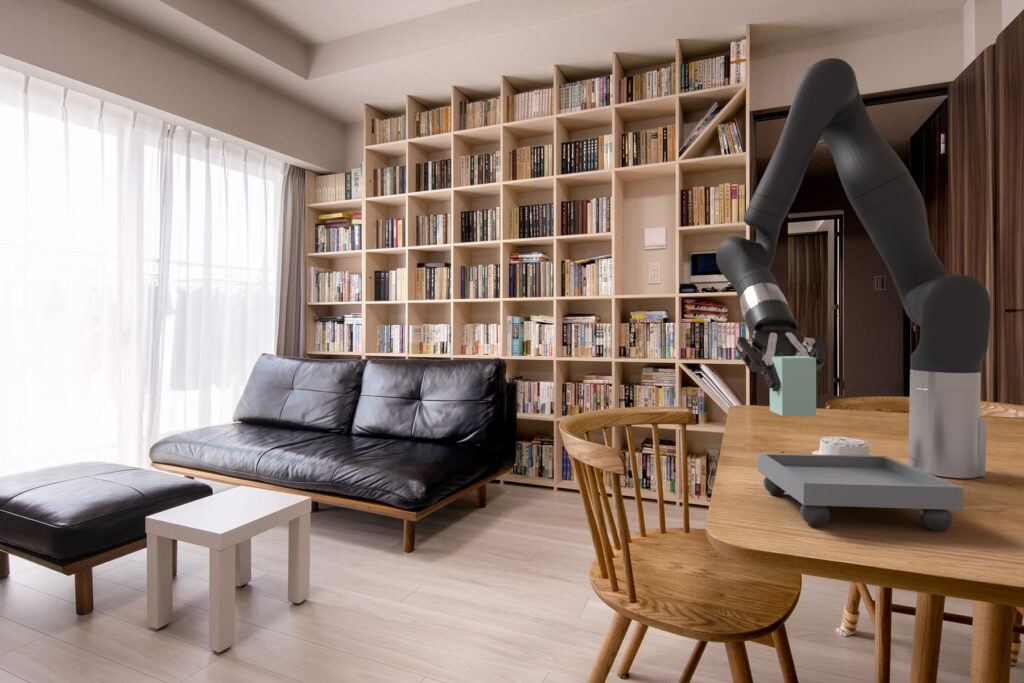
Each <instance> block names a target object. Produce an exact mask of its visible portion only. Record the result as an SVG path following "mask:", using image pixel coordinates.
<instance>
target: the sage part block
mask: <svg viewBox="0 0 1024 683" xmlns="http://www.w3.org/2000/svg"><path fill="white" fill-rule="evenodd" d="M772 360H773V364H772V366H775V368H776V371H777V374H778V376H779V379H780V382H781V386H780V388H779V390H778V391H773V390H772V388H769V411H770V412H772V413H774V414H777V415H779V416H782V417H785V416H786V417H789V416H790V417H791V416H792V417H797V416H798V417H806V416H808V417H811V416H812V417H817V389H816V358H814V357H811V356H810V357H806V356H774V357H772Z"/></svg>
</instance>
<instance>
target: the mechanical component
mask: <svg viewBox="0 0 1024 683" xmlns="http://www.w3.org/2000/svg"><path fill="white" fill-rule="evenodd" d="M869 444H870V443H869V442H868V441H866V440H865V441H864V440H863V439H859V438H854V437H853V438H852V437H847V436H846V437H845V436H826V437H825V436H822V437H821V438H819V450H818V449H817V450H814V451H812V452H811V454H821V455H868V456H870V447H869Z"/></svg>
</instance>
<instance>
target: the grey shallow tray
mask: <svg viewBox="0 0 1024 683" xmlns="http://www.w3.org/2000/svg"><path fill="white" fill-rule="evenodd" d="M757 471H758V473H760V474H761V475H763V476H764V480H763V486H764V489H765V490H766V491H767V492H769V493H770V494H771V495H773V496H782V495H783V494H785V493H786V494H789V495H790V496H791V497H792V498H793V499H794V500H796V501H798V502H799V503H800V504H801V506H800V508H799V514H800V517H801V518H802V520H803V521H804V522H805V523H806V524H808V525H809V526H812V527H814V528H821V527H823V526H826V525H827V524H828V522H829V520H830V517H831V514H830V511H829V510H830V509H829V508H828V506H829V507H850V508H851V507H854V508H855V507H856V508H857V507H858V508H883V509H884V508H887V509H915V510H916V509H919V512H918V518H919V521H920V523H921V524H922V525H924V526H925V527H927V528H928V529H930V530H932V531H935V532H943V531H946V530H948V529H949V528H950V526H951V525H952V522H953V515H952V512H950V510H952V511H954V510H955V511H963V510H964V508H963V507H964V487H963V486H961V485H958V484H955V483H953V482H950V481H948V480H945V479H943V478H941V477H940V476H939V477H938V476H936V475H931V474H929V473H926V472H924V471H921V470H919V469H916V468H914V467H911V466H909V465H908V464H907V463H904V462H902V461H899V460H897V459H894V458H891V457H889V456H886V455H869V456H868V455H821V454H812V453H808V454H806V453H771V452H770V453H769V452H768V453H765V452H764V453H762V452H758V454H757Z"/></svg>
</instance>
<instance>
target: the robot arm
mask: <svg viewBox="0 0 1024 683" xmlns="http://www.w3.org/2000/svg"><path fill="white" fill-rule="evenodd" d="M820 138H821V139H822V140H823V141H824V143H825V145H826V146H827V148H828V150H829V152H830V153H831V156H832V158H833V162H834V165H835V168H836V171H837V173H838V177H839V180H840V182H841V185H842V187H843V189H844V192H845V195H846V196H847V199H848V201H849V202H850V204H851V206H852V208H853V210H854V212H855V213H856V216H857V217H858V220H859V221H860V222H861V224H862V225H863V227H864V228H865V230H866V232H867V234H868V236H869V238H870V240H871V241H872V243H873V245H874V246H875V247H874V248H876V250H877V251H878V253H879V254H880V256H881V258H882V259H883V261H884V263H885V264H886V267H887V269H888V272H889V273H890V275H891V278H892V280H893V282H894V286H895V288H896V290H897V293H898V296H899V299H900V301H901V303H902V306H903V309H904V311H905V313H906V315H907V317H908V318H909V319H910V320H911V321H912V322H913V323H914V324H916V325H917V326H919V327H920V331H919V332H920V335H919V342H918V345H917V347H916V349H915V350H914V351H913V352H912V353H911V355H910V362H909V364H910V365H909V366H910V369H909V373H910V374H909V411H908V412H909V419H908V456H907V458H908V459H907V462H908V464H907V465H909V466H911V467H914V468H916V469H919V470H921V471H924V472H926V473H929V474H931V475H934V476H936V477H938V476H939V477H942V478H943V477H944V478H953V479H975V478H978V477H986V467H987V466H986V465H987V464H986V459H987V428H988V427H987V423H988V422H987V419H986V418H985V417H982V416H981V383H982V382H981V381H982V380H981V379H982V378H981V377H982V372H981V371H982V363H983V361H984V359H985V358H986V355H987V352H988V348H989V340H990V328H991V312H992V311H991V307H992V306H991V298H990V294H989V291H988V289H987V288H986V286H985V285H984V284H983V283H982V282H981V281H980V280H979V279H977V278H975V277H973V276H971V275H966V274H955V273H954V274H949V272H948V271H947V270H946V268H945V267H944V265H943V264H942V262H941V260H940V258H939V257H938V255H937V254H936V251H935V250H934V247H933V245H932V242H931V238H930V231H929V224H928V217H927V216H928V215H927V209H926V204H925V201H924V197H923V196H922V193H921V191H920V189H919V187H918V185H917V184H916V182H915V180H914V178H913V177H912V175H911V173H910V171H909V170H908V168H907V166H906V165H905V164H904V162H903V161H902V160H901V158H900V156H899V155H898V154H897V152H896V151H895V150H894V149H893V147H892V146H891V145H890V144H889V143H888V141H886V140H885V139H884V138H883V136H882V135H881V134H880V133H879V131H878V130H877V129H876V127H875V125H874V124H873V121H872V120H871V118H870V116H869V113H868V111H867V108H866V106H865V104H864V101H863V98H862V96H861V92H860V89H859V85H858V82H857V76H856V72H855V70H854V69H853V67H852V66H851V65H850V64H849V63H848V62H847V61H845V60H843V59H841V58H839V57H838V58H835V57H827V58H824V59H821V60H818V61H817V62H815V63H814V64H812V65H811V66H809V67H808V68H807V69H806V70H805V71H804V72H803V73H802V75H801V76H800V78H799V79H798V82H797V85H796V88H795V91H794V94H793V98H792V102H791V105H790V108H789V111H788V115H787V118H786V122H785V124H784V127H783V130H782V132H781V135H780V137H779V140H778V142H777V145H776V147H775V150H774V152H773V153H772V156H771V159H770V160H769V163H768V164H767V167H766V169H765V171H764V173H763V176H762V177H761V178H760V181H759V183H758V186H757V187H756V190H755V191H754V193H753V195H752V198H751V200H750V202H749V204H748V207H747V208H746V210H745V213H744V215H743V222H744V223H745V224H746V225H747V226H748V227H750V228H752V229H754V230H755V232H756V233H755V234H756V238H755V241H753V240H750V239H747V238H745V237H742V236H738V235H737V236H734V235H733V236H730V237H726V238H725V239H724V240H722V241H721V242H720V243H719V245H718V247H717V249H716V255H715V256H716V257H715V259H716V265H717V268H718V269H719V271H720V272H721V274H722V275H723V277H724V278H725V279H726V280H727V281H728V283H729V284H730V285H731V286H732V287H733V289H734V290H735V292H736V295H737V298H738V300H739V304H740V310H741V314H742V315H741V316H742V317H743V319H744V322H745V324H746V328H747V330H748V333H749V338H746V337H745V336H739V337H738V339H737V342H736V344H735V350H736V352H737V354H738V355H739V357H740V358H741V359H742V361H743V362H744V364H745V365H746V368H748V370H749V371H750V372H761V374H762V375H763V376H764V380H765V382H766V386H767V387H768V388H769V389H770V388H772V390H773V391H778V390H779V388H780V386H781V382H780V379H779V376H778V374H777V371H776V368H775V366H772V364H773V360H772V357H774V356H806V357H814V358H816V390H817V389H818V388H819V386H820V384H821V381H822V379H821V378H820V375H819V373H818V372H820V371H821V370H822V367H823V365H824V363H825V362H826V353H825V352H826V351H825V344H824V338H823V337H822V335H815V336H814V338H813V337H805V336H804V334H802V333H801V332H800V330H799V329H798V324H797V321H796V319H795V317H794V314H793V313H792V311H791V308H790V305H789V302H788V301H787V298H786V297H785V295H784V294H783V292H782V291H781V289H780V287H779V284H778V282H777V280H776V278H775V276H774V274H773V273H772V272H771V271H770V269H771V267H772V265H773V262H774V259H775V255H776V250H777V245H778V242H779V241H778V240H779V236H780V232H781V227H782V225H783V222H784V221H785V219H786V217H787V215H788V213H789V211H790V208H791V207H792V205H793V203H794V201H795V199H796V196H797V195H798V192H799V190H800V187H801V185H802V182H803V178H804V176H805V174H806V171H807V168H808V165H809V163H810V160H811V158H812V155H813V153H814V151H815V149H816V147H817V145H818V142H820ZM805 347H806V348H805ZM754 349H756V350H757V351H758V352H760V353H761V354H762V359H761V358H760V357H759V355H758V354H757V353H756V351H755V350H754ZM808 353H810V355H809V354H808Z"/></svg>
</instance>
